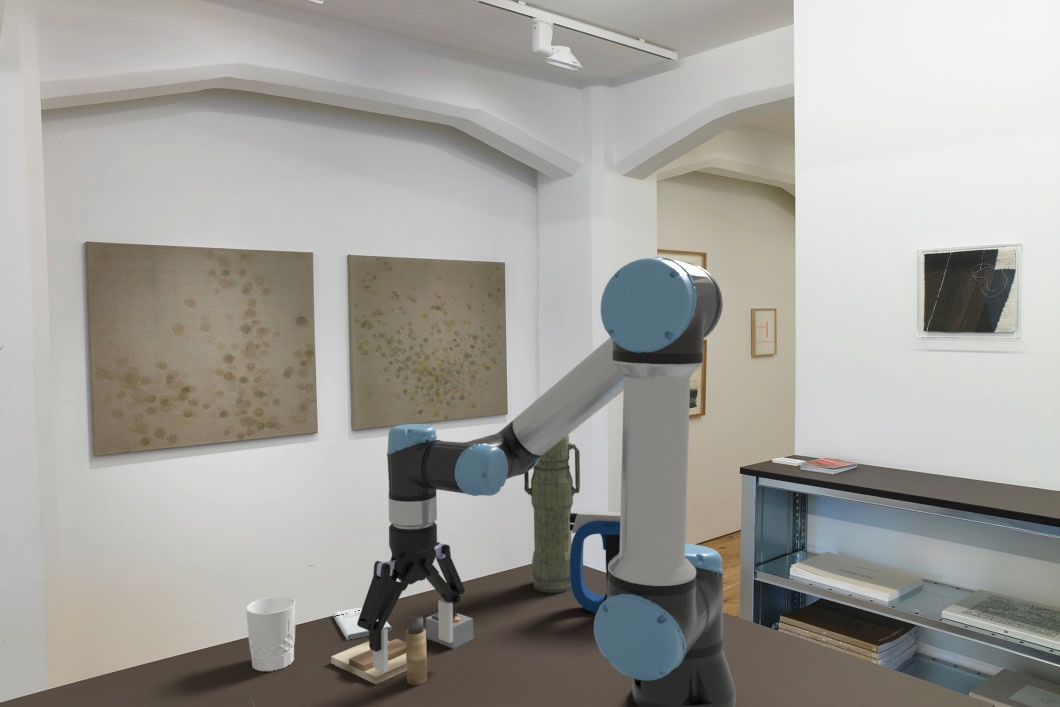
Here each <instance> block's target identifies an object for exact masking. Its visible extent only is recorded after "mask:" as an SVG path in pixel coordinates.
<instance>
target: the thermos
mask: <svg viewBox="0 0 1060 707" xmlns="http://www.w3.org/2000/svg"><path fill="white" fill-rule="evenodd" d="M572 450H574V474H575V478H574V480H575V482H574V481H573V477H572V474H571V472H570V464H569V460H570V451H572ZM580 471H581V465H580V450H579V449H578V447H577V445H576V444H574V443H571V442H570V434H568V435H567V436H566V437H565V438H563V439H562V440H561V441H560V442H558V443H557V444H556V445H554V446H553V447H552V448H551V449H549V450H548V451H547V452H546V453H545V454H543V455H542V456H541V457H540V460H539V462H538V463H537V465H536V466H535V467H534V468H533V473H532V475H531V476H532V477H531V479H530V478H529V477H530V476H529V475H530V474H529V471H527V472H526V473H524V474H523V475H524V476H523V478H524V481H523V482H524V492H525V493H527V494H528V496H530V498H531V501H530V502H531V505H532V508H533V526H534V527H533V530H534V532H533V534H534V536H533V537H534V538H533V540H534V550H533V555H532V559H531V560H532V561H531V562H532V563H531V565H532V567H531V568H532V569H531V570H532V571H531V572H532V576H533V588H534V589H535V590H536V591H539V592H542V593H549V594H557V593H558V594H559V592H560V593H565V592H568V591H570V590H571V591H572V587H571V580H570V552H571V544H572V531H570V524H572V523H570V513H572V506H573V505H574V495H575V494H579V493H580V489H581V472H580ZM529 481H530V482H529ZM573 482H574V483H575V484H574V483H573ZM573 484H574V485H575V486H574V485H573ZM529 485H530V486H529ZM564 591H565V592H564Z"/></svg>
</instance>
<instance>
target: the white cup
mask: <svg viewBox="0 0 1060 707" xmlns="http://www.w3.org/2000/svg"><path fill="white" fill-rule="evenodd" d="M245 612H246V621H247V635H248V645H249V652H250V655H251V665H252V669H254V670H256V671H257V670H258V672H265V671H266V672H275V671H279V670H283V669H285V668H286V667H289V666H291V664H292V663H293V662H294V661H295V646H294V645H295V643H296V642H295V641H296V640H295V639H296V600H295V599H294V598H292V597H288V596H269V597H264V598H260V599H257V600H254V601H253V602H250V603H249V604H247V606H246V608H245ZM288 665H289V666H288ZM282 668H283V669H282ZM278 669H279V670H278ZM274 670H275V671H274Z"/></svg>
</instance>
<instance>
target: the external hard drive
mask: <svg viewBox="0 0 1060 707" xmlns="http://www.w3.org/2000/svg"><path fill="white" fill-rule="evenodd" d="M362 607H363V606H360V607H356V608H355V607H354V608H350V609H345V610H338V611H335V612H333V618H334V621H335V622H336V624H337V626H338V627H339V628H340V631H341V632H342V634H343V636H344V637H346V638H345V639H346V641H351V640H350V639H352V640H356V638H357V639H361V637H363V638H366V637H365V636H368V637H369V631H368V630H366V629H363V628H361V627H359V626H358V625H357V622H358V619H359V616H360V613H361V610H362ZM358 610H360V611H358ZM355 611H356V612H355ZM346 613H347V614H346ZM341 614H344V615H341ZM336 615H340V616H336ZM334 616H336V617H334ZM377 621H378V620H377ZM384 628H386V629H388V633H390V632H389V631H392V626H391V625H390V624H389V622H388V620H387V621H386V623H385V625H384Z"/></svg>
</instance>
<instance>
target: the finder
mask: <svg viewBox="0 0 1060 707" xmlns="http://www.w3.org/2000/svg"><path fill="white" fill-rule="evenodd" d="M425 629H426V638H427V639H426V640H429V639H430V641H431V640H433V641H432V642H434V641H435V642H434V643H436V642H438V643H437V644H439V643H440V645H442V644H443V645H442V646H444V645H446V646H445V647H447V646H448V647H447V648H449V647H450V648H449V649H452V648H454V649H456V648H459V647H461V646H463V645H465V644H467V643H469V642H471V641H470V640H472V639H474V638H475V636H474V618H472V617H470V616H467V615H464V614H460V613H457V612H455V618H454V619H453V642H451V643H448V642H446V641H443V640H441V639H439V626H438V612H437V613H434V614H432V615H429V616H427V617H425ZM468 641H469V642H468ZM472 641H473V640H472ZM466 642H467V643H466ZM464 643H465V644H464ZM462 644H463V645H462ZM460 645H461V646H460ZM458 646H459V647H458ZM455 647H456V648H455Z"/></svg>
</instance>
